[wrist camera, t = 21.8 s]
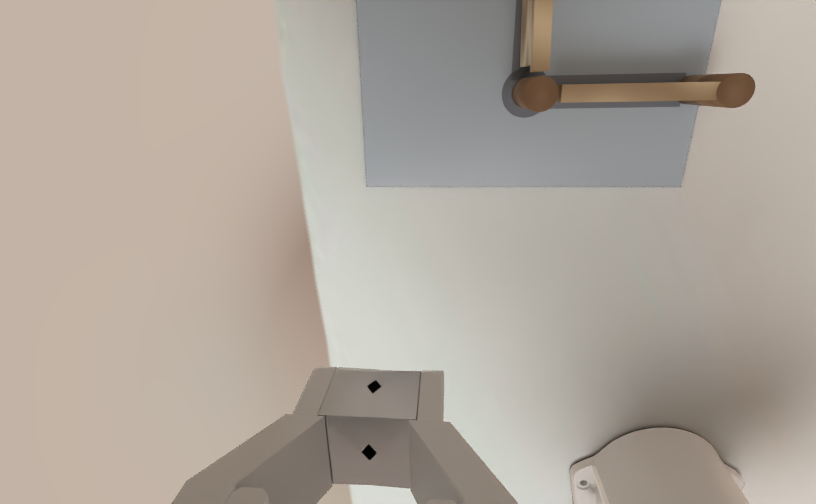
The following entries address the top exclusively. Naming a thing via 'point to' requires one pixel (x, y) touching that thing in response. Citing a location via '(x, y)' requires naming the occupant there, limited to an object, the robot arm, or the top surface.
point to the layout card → (493, 82)
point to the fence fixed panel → (637, 91)
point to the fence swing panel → (536, 34)
